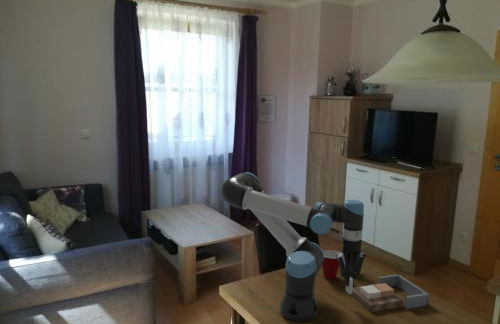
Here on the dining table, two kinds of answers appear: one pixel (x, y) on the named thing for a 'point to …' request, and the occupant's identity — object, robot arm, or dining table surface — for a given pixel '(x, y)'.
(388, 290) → the terracotta tile
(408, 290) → the box
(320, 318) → the dining table surface
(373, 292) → the cream tile
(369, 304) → the walnut plate
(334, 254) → the plastic cup
